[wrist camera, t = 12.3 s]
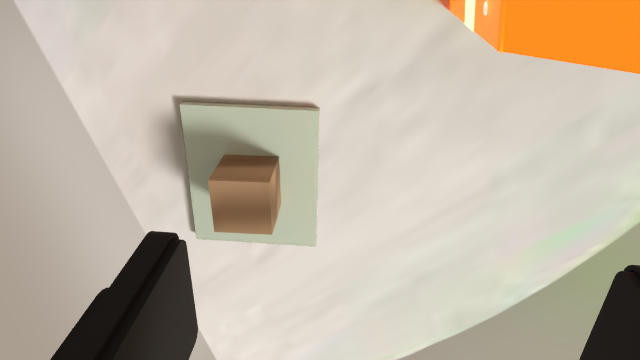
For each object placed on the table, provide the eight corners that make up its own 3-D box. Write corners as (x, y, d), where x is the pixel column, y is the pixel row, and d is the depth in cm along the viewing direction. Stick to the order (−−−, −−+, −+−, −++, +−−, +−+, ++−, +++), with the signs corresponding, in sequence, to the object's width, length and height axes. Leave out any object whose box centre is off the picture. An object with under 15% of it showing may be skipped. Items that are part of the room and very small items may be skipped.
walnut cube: (224, 154, 42) (207, 180, 37) (279, 156, 41) (269, 182, 37) (229, 202, 44) (214, 232, 39) (281, 204, 44) (272, 234, 39)
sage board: (182, 101, 40) (179, 104, 40) (319, 108, 40) (318, 111, 39) (198, 234, 47) (196, 238, 46) (316, 241, 46) (315, 246, 45)
